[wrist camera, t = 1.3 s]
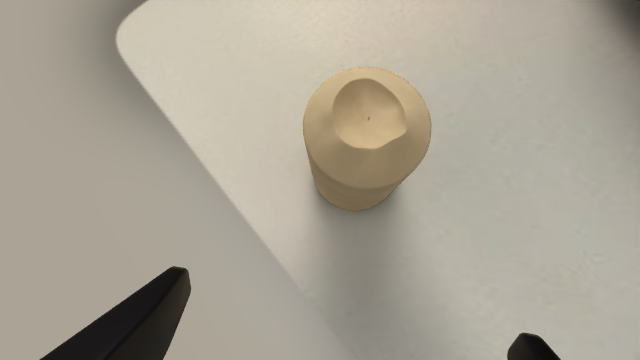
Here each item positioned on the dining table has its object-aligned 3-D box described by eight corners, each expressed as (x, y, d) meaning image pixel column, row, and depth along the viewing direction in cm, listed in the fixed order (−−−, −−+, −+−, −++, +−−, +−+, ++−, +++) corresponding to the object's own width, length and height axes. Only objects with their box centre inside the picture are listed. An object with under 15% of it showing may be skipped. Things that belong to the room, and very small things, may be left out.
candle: (411, 163, 23) (470, 99, 13) (361, 228, 22) (386, 211, 13) (345, 116, 24) (356, 23, 14) (296, 177, 23) (271, 124, 13)
